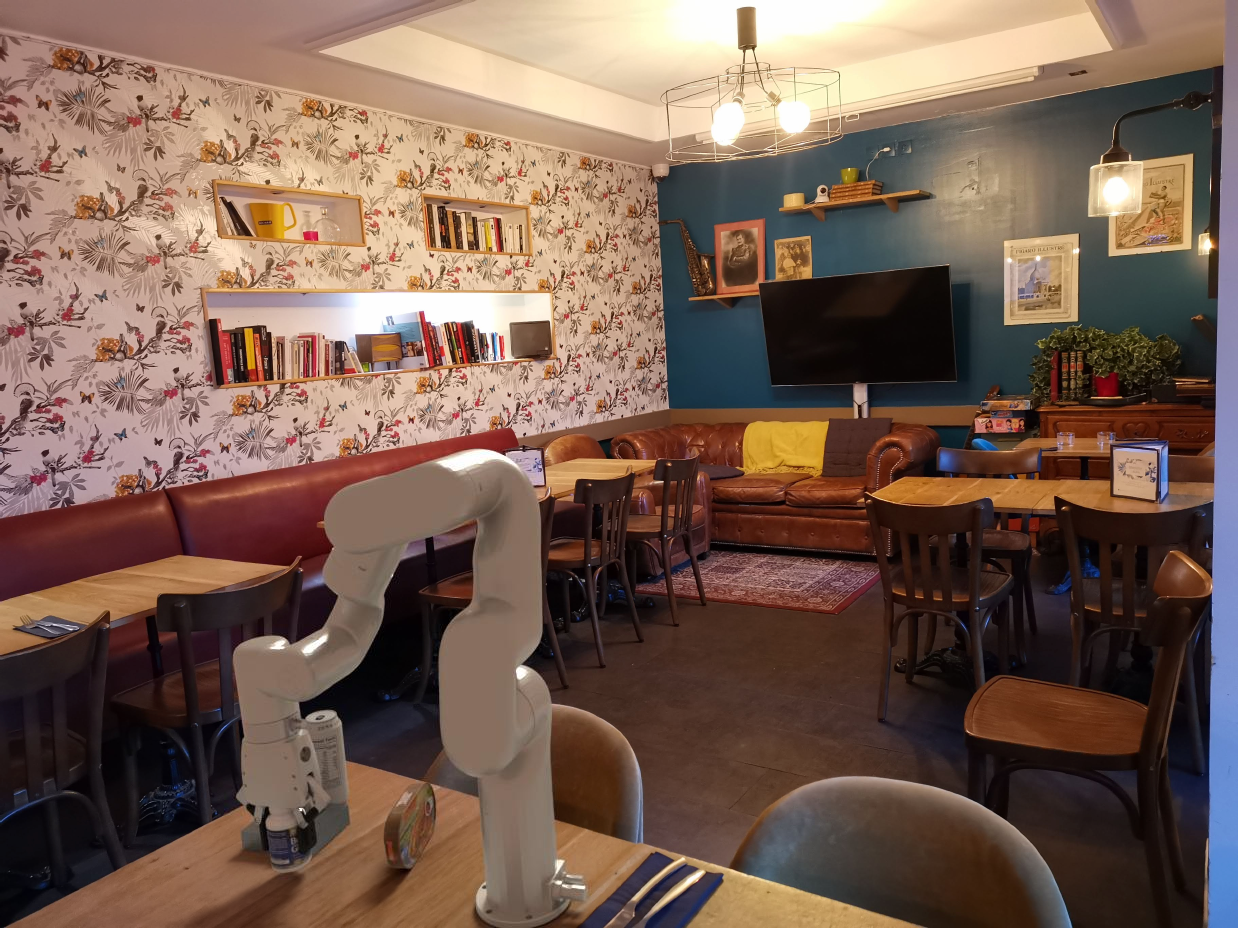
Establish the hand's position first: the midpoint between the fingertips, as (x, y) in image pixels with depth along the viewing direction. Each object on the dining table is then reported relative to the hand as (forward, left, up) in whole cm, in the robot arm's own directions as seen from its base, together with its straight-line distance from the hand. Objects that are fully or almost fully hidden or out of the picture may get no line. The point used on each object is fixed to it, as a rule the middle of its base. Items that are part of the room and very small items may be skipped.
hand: (289, 846), depth 127 cm
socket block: (+6, -9, -4) cm, 12 cm away
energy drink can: (+7, -19, -4) cm, 21 cm away
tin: (-14, -9, -5) cm, 17 cm away
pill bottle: (0, 0, -3) cm, 3 cm away
